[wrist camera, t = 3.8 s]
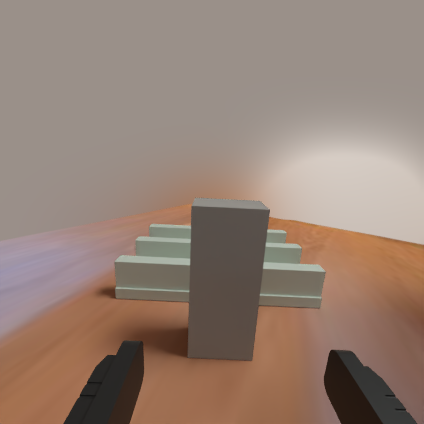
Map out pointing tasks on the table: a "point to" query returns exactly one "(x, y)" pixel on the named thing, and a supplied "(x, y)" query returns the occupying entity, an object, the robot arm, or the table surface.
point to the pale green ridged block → (180, 270)
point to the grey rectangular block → (225, 277)
